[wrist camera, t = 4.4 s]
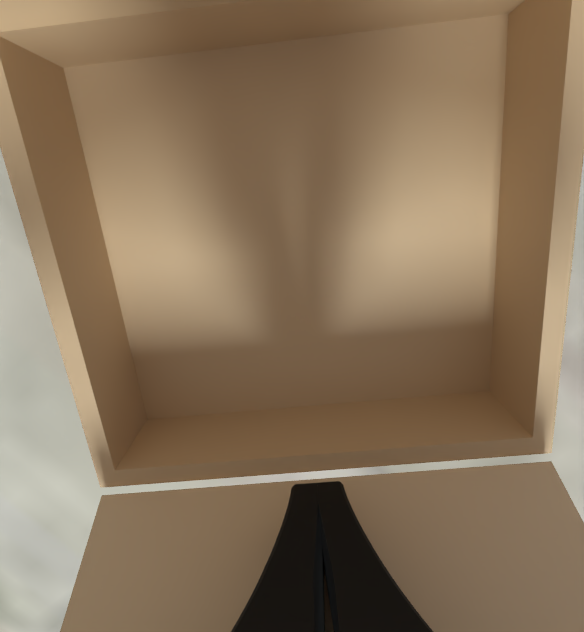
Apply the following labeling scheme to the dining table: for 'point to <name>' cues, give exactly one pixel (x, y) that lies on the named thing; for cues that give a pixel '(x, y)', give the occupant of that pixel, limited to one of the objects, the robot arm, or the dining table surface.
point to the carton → (299, 224)
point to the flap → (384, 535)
